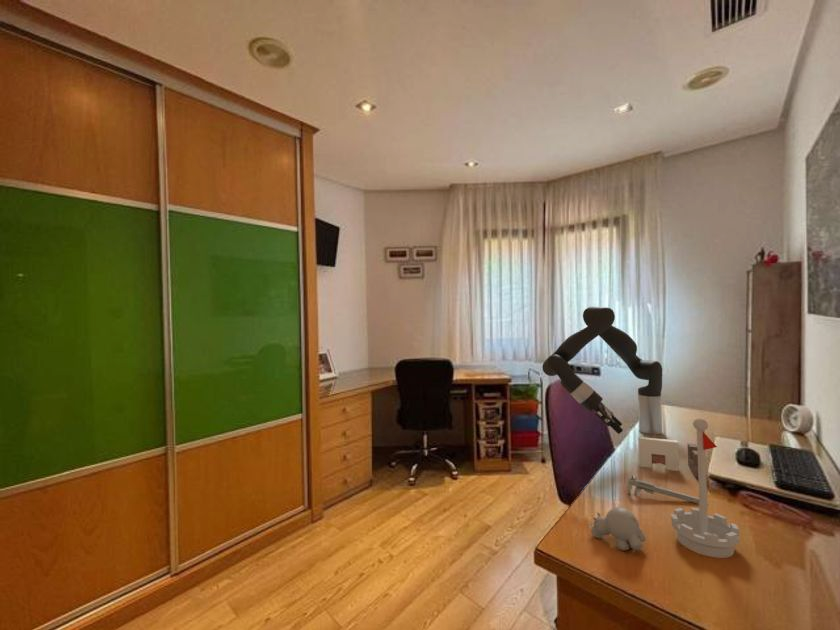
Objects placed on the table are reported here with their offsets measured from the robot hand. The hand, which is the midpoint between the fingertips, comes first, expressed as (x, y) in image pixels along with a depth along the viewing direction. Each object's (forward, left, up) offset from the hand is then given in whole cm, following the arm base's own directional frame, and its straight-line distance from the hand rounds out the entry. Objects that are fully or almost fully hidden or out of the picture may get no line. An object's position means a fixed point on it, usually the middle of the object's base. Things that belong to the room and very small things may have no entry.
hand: (620, 428), depth 141 cm
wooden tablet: (-17, +14, -13) cm, 26 cm away
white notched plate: (0, +12, -13) cm, 17 cm away
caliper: (+26, +11, -13) cm, 31 cm away
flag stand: (+48, +16, -13) cm, 52 cm away
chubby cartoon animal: (+56, -3, -13) cm, 58 cm away
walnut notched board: (0, +23, -13) cm, 26 cm away
